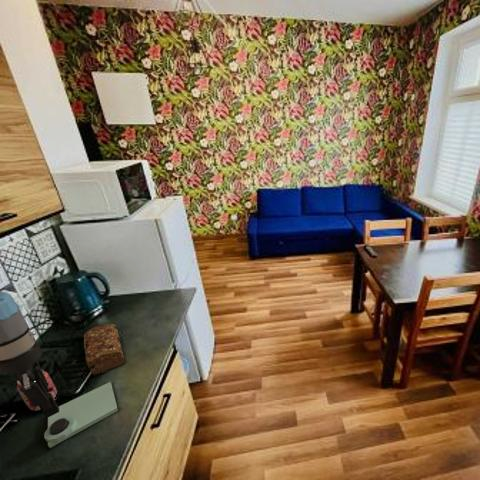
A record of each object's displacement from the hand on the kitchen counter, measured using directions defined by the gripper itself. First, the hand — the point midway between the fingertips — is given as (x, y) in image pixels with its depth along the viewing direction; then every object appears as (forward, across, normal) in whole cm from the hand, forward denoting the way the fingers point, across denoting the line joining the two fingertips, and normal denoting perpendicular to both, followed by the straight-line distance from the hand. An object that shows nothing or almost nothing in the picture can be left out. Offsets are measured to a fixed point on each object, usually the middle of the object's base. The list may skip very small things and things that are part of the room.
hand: (52, 413), depth 75 cm
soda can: (+9, +17, +4) cm, 20 cm away
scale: (+9, +4, -5) cm, 11 cm away
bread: (+9, +27, -14) cm, 32 cm away
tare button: (+7, 0, 0) cm, 7 cm away
